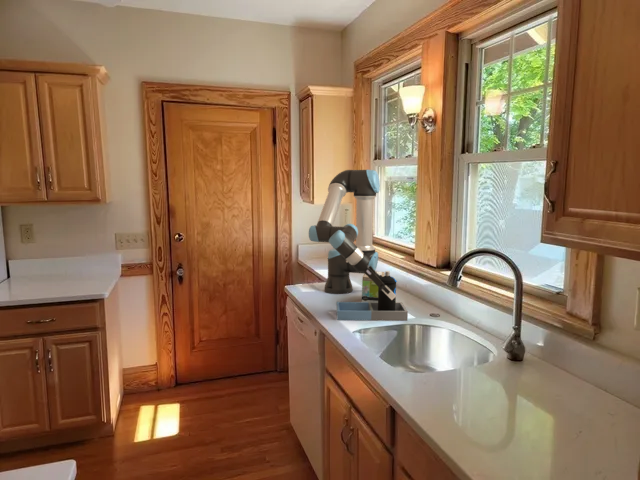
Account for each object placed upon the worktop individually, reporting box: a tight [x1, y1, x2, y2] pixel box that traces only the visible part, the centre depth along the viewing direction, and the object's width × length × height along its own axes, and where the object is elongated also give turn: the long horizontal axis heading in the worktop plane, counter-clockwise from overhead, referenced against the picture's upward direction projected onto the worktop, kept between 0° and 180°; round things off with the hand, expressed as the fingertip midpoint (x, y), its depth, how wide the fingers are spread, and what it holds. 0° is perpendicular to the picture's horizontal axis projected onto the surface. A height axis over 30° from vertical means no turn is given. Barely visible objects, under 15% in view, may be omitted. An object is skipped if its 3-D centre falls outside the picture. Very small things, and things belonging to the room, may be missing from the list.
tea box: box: [361, 270, 385, 302], centre depth 211 cm, size 15×10×15 cm
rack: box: [336, 301, 409, 322], centre depth 193 cm, size 14×30×4 cm, turn 89°
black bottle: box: [378, 270, 398, 311], centre depth 192 cm, size 8×8×20 cm
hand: (391, 293), depth 191 cm, fingers open, 13 cm apart
